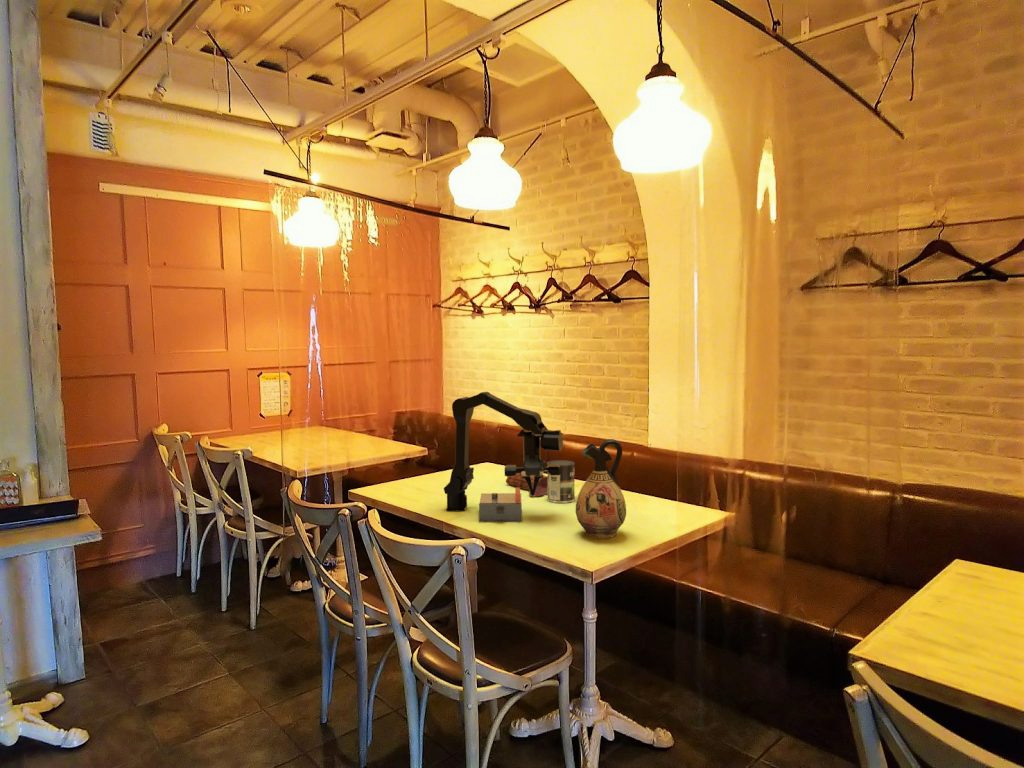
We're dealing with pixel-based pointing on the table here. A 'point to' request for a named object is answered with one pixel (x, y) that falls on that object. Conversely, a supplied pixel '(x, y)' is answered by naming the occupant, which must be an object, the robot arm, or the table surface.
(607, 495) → the ceramic jug
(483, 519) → the grey box
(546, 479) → the cured meat
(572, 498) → the coffee can
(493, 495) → the lid
